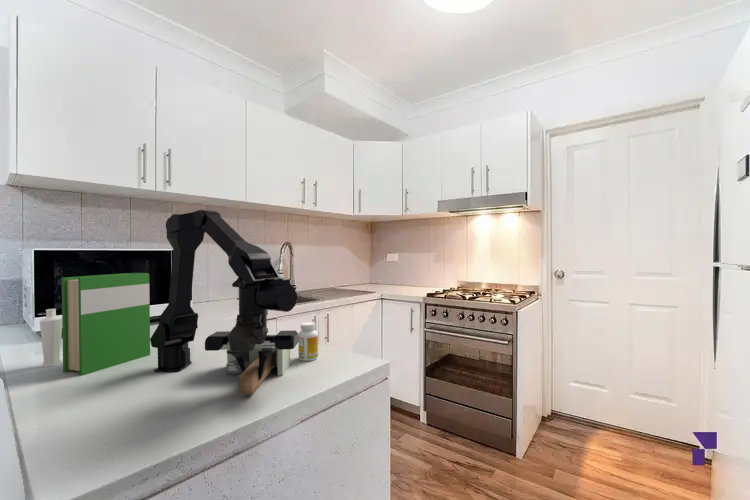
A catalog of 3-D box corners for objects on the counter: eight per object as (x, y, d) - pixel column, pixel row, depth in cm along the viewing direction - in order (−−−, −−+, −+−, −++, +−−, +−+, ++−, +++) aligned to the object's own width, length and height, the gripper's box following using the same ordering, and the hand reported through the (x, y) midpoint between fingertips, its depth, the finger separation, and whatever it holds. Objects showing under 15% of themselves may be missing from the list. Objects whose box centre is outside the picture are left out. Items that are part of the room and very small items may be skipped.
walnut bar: (239, 394, 71) (239, 375, 71) (265, 365, 89) (265, 349, 89) (252, 394, 71) (251, 375, 71) (275, 365, 89) (275, 349, 89)
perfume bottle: (35, 366, 92) (34, 310, 92) (55, 361, 96) (55, 307, 96) (45, 368, 91) (44, 311, 91) (65, 363, 95) (64, 308, 95)
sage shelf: (215, 376, 83) (215, 343, 83) (229, 365, 91) (228, 335, 91) (282, 375, 84) (282, 342, 84) (290, 364, 92) (289, 334, 92)
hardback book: (81, 375, 85) (80, 278, 85) (63, 372, 88) (61, 277, 88) (150, 354, 102) (149, 273, 102) (132, 352, 104) (131, 272, 104)
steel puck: (223, 376, 84) (222, 366, 84) (231, 369, 89) (231, 359, 89) (243, 376, 84) (243, 365, 84) (250, 369, 89) (250, 359, 89)
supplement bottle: (320, 355, 99) (320, 321, 99) (315, 361, 94) (314, 325, 94) (302, 355, 100) (301, 321, 100) (295, 361, 94) (295, 325, 94)
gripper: (190, 315, 67) (191, 395, 67) (287, 314, 68) (288, 394, 68) (216, 306, 79) (216, 375, 79) (298, 305, 79) (299, 373, 79)
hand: (253, 379), depth 76 cm, fingers closed on walnut bar, 2 cm apart
